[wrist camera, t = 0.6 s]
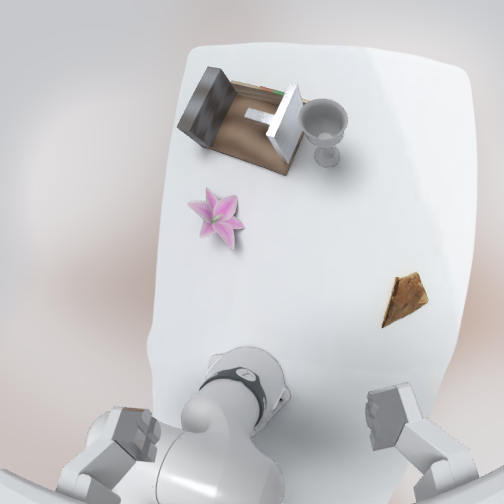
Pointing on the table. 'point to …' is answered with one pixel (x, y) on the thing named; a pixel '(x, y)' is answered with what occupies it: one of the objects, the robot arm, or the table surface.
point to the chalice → (324, 128)
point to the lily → (218, 216)
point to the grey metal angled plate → (282, 122)
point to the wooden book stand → (233, 120)
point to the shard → (405, 298)
